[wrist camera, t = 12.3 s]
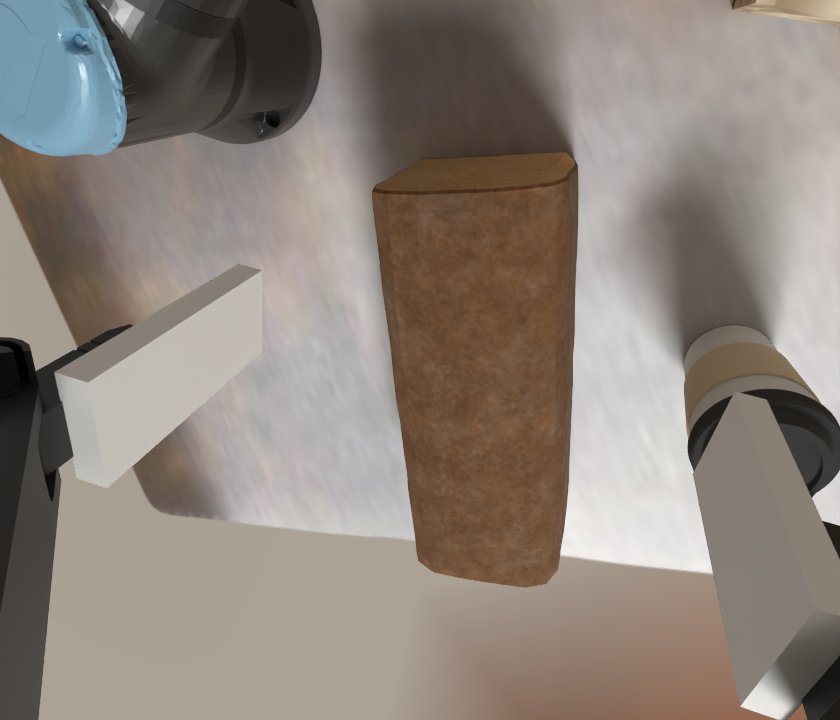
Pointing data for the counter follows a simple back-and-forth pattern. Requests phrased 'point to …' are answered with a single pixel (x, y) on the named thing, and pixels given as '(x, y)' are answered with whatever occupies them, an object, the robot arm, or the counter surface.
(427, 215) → the bread
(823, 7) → the birch frame
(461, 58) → the counter surface
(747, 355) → the coffee cup
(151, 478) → the counter surface
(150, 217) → the counter surface
